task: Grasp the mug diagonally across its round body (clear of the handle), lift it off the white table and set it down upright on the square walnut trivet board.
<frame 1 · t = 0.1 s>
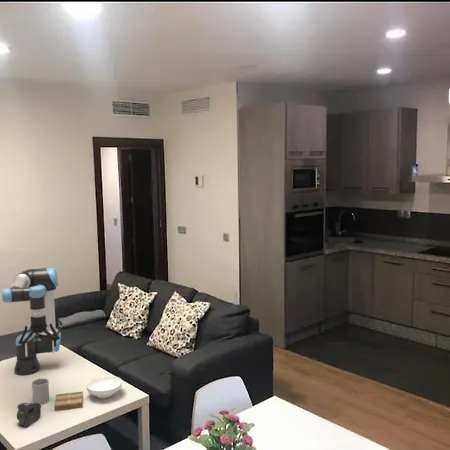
hand: (40, 354, 258), 28 cm above the table, fingers open, 13 cm apart
camera: (28, 421, 243), on the table
mug: (41, 399, 266), on the table
trivet: (69, 403, 261), on the table
bowl: (104, 395, 270), on the table
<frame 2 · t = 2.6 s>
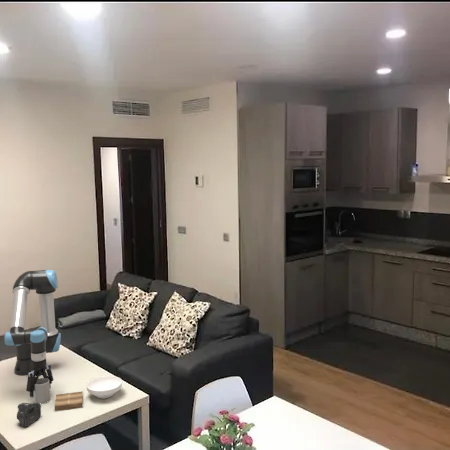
hand: (40, 398, 265), 1 cm above the table, fingers closed on mug, 9 cm apart
mug: (42, 399, 266), on the table, touching gripper
everything else where it was.
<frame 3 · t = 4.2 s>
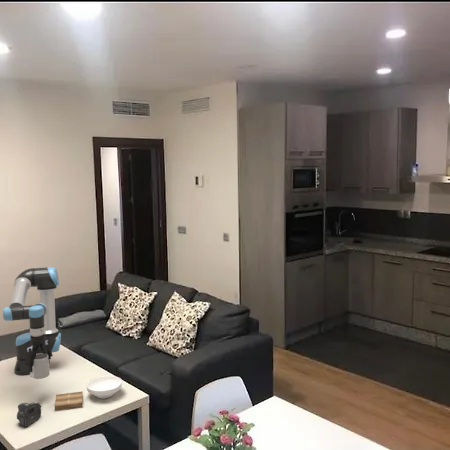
hand: (39, 373, 265), 15 cm above the table, fingers closed on mug, 9 cm apart
mug: (41, 374, 266), point 14 cm above the table, touching gripper
everything else where it was.
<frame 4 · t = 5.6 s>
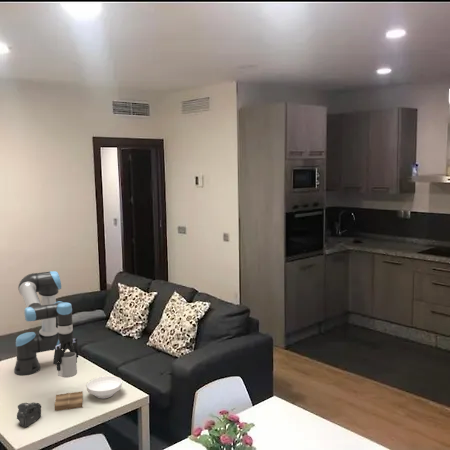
hand: (67, 372, 259), 17 cm above the table, fingers closed on mug, 9 cm apart
mug: (68, 373, 260), point 17 cm above the table, touching gripper
everything else where it was.
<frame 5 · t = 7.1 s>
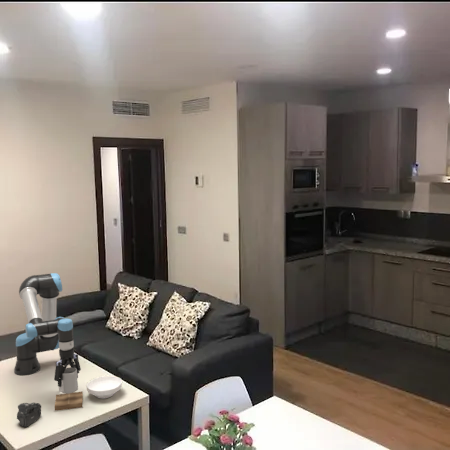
hand: (68, 388, 260), 8 cm above the table, fingers closed on mug, 9 cm apart
mug: (69, 388, 261), point 8 cm above the table, touching gripper
everything else where it was.
when the fingers open (4 cm above the table, at t = 8.4 s): mug drops 1 cm, resting on trivet.
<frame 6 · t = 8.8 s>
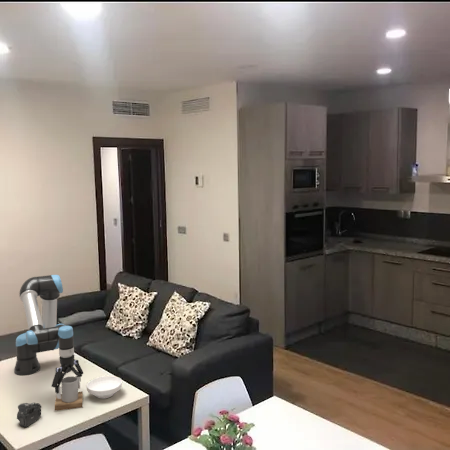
hand: (68, 393, 261), 6 cm above the table, fingers open, 13 cm apart
mug: (69, 398, 262), point 2 cm above the table, touching trivet
everything else where it was.
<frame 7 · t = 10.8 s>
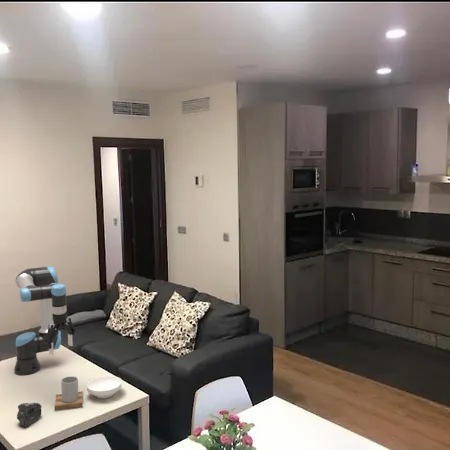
hand: (61, 349, 268), 27 cm above the table, fingers open, 13 cm apart
nothing on the table moved.
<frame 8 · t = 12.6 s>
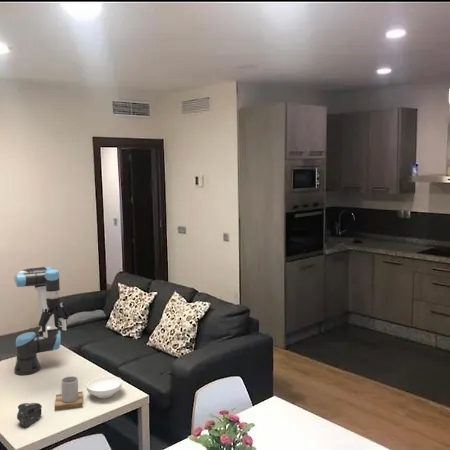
hand: (55, 333, 276), 33 cm above the table, fingers open, 13 cm apart
nothing on the table moved.
at the end: mug inside the target area on the trivet (0.9 cm from its centre), point 2.5 cm above the trivet's base; mug tilted 2°; the gripper is holding nothing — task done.
